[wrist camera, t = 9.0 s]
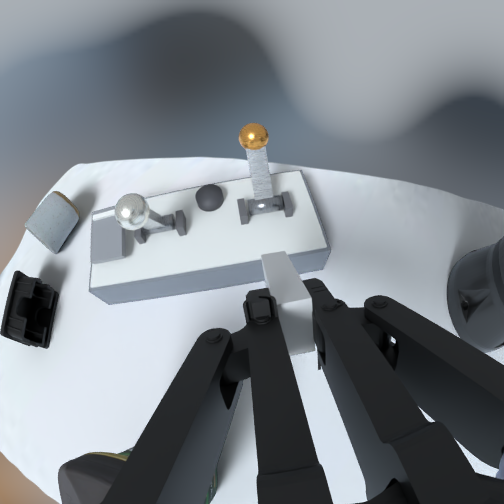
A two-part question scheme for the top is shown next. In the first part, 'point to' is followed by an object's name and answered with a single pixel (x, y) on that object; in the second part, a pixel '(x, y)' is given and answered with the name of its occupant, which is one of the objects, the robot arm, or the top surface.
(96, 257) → the rocker grey
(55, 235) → the ceramic mug
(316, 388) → the top surface
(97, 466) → the coffee jar
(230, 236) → the console
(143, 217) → the silver ball lever
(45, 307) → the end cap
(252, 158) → the lever orange
